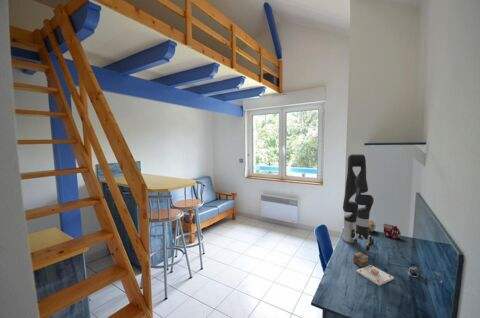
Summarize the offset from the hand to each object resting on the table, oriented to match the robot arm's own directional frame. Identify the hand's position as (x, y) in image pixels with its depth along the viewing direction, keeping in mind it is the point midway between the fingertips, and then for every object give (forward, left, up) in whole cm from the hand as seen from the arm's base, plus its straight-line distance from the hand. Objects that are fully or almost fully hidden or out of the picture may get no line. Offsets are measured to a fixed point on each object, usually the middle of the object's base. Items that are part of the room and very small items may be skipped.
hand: (361, 247), depth 141 cm
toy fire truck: (-16, +63, -12) cm, 66 cm away
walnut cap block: (0, 0, -11) cm, 11 cm away
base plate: (+12, -4, -11) cm, 17 cm away
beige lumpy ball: (-32, +57, -11) cm, 67 cm away
